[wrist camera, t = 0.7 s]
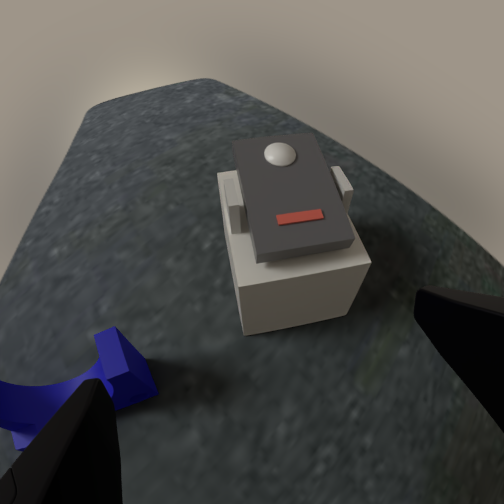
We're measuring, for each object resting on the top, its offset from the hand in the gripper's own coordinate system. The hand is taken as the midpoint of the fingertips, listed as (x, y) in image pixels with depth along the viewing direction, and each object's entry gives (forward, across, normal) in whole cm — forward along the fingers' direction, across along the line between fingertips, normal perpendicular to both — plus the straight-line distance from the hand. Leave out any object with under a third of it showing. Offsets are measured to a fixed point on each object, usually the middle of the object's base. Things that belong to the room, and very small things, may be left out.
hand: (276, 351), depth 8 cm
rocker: (+12, -5, -1) cm, 13 cm away
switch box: (+17, -6, +6) cm, 19 cm away
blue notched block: (+11, +12, +11) cm, 20 cm away
